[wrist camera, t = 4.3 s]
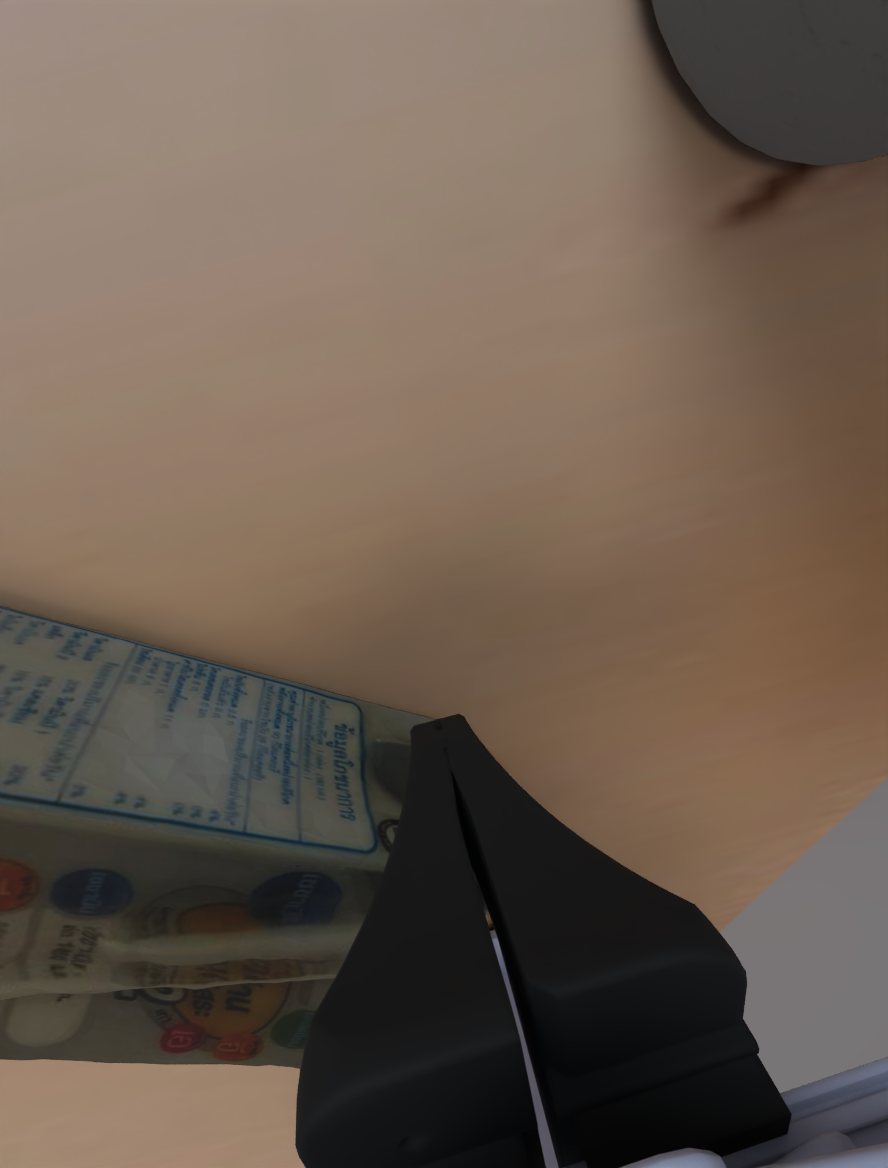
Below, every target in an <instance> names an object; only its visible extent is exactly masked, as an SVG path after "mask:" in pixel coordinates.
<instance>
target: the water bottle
mask: <svg viewBox="0 0 888 1168" xmlns="http://www.w3.org/2000/svg"><path fill="white" fill-rule="evenodd" d="M651 1H652V5H653V8H654V12H655V16H656V20H657V24H658V27H659V29H660V31H661V34H662V36H663V38H664V40H665V43H666V45H667V47H668V49H669V51H670V54H671V56H672V58H673V60H674V63H675V65H676V67H677V69H678V72H679V73H680V75H681V76H682V78H683V79H684V80H685V82H686V83H687V85H688V86H689V87H690V89H691V90H692V92H693V93H694V94H695V96H696V97H697V99H698V100H699V101H700V103H701V104H702V106H703V107H704V108H705V110H706V111H707V113H708V114H709V115H710V116H711V117H713V118H714V119H715V120H716V121H717V122H718V123H719V124H721V125H722V126H723V127H724V128H725V129H726V130H727V131H729V132H730V133H731V134H732V135H733V136H734V137H736V138H737V139H738V140H739V141H740V142H742V143H744V144H746V145H748V146H750V147H752V148H754V149H756V150H759V151H761V152H763V153H765V154H767V155H769V156H771V157H773V158H775V159H781V160H787V161H792V162H798V163H804V164H810V165H820V166H824V165H834V164H843V163H853V162H862V161H866V160H869V159H873V158H877V157H881V156H884V155H888V0H651Z"/></svg>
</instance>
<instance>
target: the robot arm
mask: <svg viewBox="0 0 888 1168" xmlns="http://www.w3.org/2000/svg"><path fill="white" fill-rule="evenodd" d="M410 736H411V753H410V763H409V772H408V778H407V784H406V790H405V796H404V801H403V806H402V810H401V814H400V818H399V822H398V826H397V830H396V834H395V837H394V841H393V844H392V848H391V851H390V854H389V857H388V860H387V863H386V866H385V869H384V872H383V875H382V877H381V880H380V883H379V885H378V888H377V890H376V893H375V895H374V898H373V900H372V903H371V905H370V908H369V910H368V912H367V915H366V917H365V919H364V922H363V924H362V926H361V928H360V930H359V932H358V934H357V936H356V938H355V940H354V942H353V944H352V946H351V948H350V950H349V952H348V955H347V957H346V959H345V961H344V963H343V964H342V966H341V968H340V970H339V972H338V974H337V975H336V977H335V979H334V981H333V982H332V984H331V986H330V988H329V989H328V991H327V993H326V995H325V996H324V998H323V1000H322V1002H321V1003H320V1005H319V1007H318V1009H317V1010H316V1012H315V1014H314V1015H313V1017H312V1019H311V1022H310V1026H309V1030H308V1034H307V1039H306V1043H305V1048H304V1053H303V1058H302V1063H301V1069H300V1077H299V1084H298V1093H297V1112H296V1144H295V1145H296V1148H297V1152H298V1155H299V1158H300V1159H301V1161H302V1162H303V1164H304V1166H305V1167H306V1168H888V1057H885V1058H883V1059H880V1060H877V1061H874V1062H871V1063H868V1064H865V1065H862V1066H859V1067H856V1068H853V1069H850V1070H847V1071H844V1072H841V1073H839V1074H836V1075H833V1076H830V1077H827V1078H824V1079H821V1080H818V1081H815V1082H812V1083H809V1084H807V1085H803V1086H801V1087H798V1088H795V1089H792V1090H789V1091H786V1092H783V1093H779V1091H778V1090H777V1088H776V1086H775V1085H774V1083H773V1081H772V1079H771V1078H770V1076H769V1074H768V1072H767V1071H766V1069H765V1067H764V1066H763V1064H762V1062H761V1060H760V1059H759V1057H758V1055H757V1054H758V1053H759V1047H758V1044H757V1042H756V1040H755V1038H754V1037H753V1035H752V1033H751V1032H750V1030H749V1028H748V1026H747V1025H746V1023H745V1021H744V1020H743V1013H744V1005H745V996H746V988H747V978H746V971H745V969H744V968H743V966H742V965H741V963H740V961H739V959H738V957H737V956H736V954H735V953H734V951H733V950H732V948H731V947H730V946H729V944H728V943H727V942H726V940H725V939H724V938H723V937H722V935H721V934H720V933H719V932H718V930H717V929H716V928H715V927H714V926H713V924H712V923H711V922H710V921H709V920H708V919H707V917H706V916H705V915H704V914H703V913H702V912H701V911H700V910H699V908H698V907H697V906H696V905H695V904H693V903H691V902H689V901H687V900H685V899H683V898H681V897H679V896H677V895H675V894H673V893H671V892H669V891H667V890H665V889H663V888H661V887H659V886H658V885H656V884H654V883H652V882H650V881H648V880H647V879H645V878H643V877H641V876H640V875H638V874H636V873H635V872H633V871H631V870H629V869H628V868H626V867H624V866H623V865H621V864H620V863H618V862H617V861H615V860H614V859H612V858H611V857H609V856H608V855H606V854H605V853H603V852H602V851H600V850H599V849H597V848H595V847H594V846H592V845H591V844H589V843H588V842H586V841H585V840H584V839H582V838H581V837H580V836H578V835H577V834H576V833H574V832H573V831H572V830H570V829H569V828H568V827H566V826H565V825H564V824H563V823H561V822H560V821H559V820H558V819H556V818H555V817H554V816H553V815H552V814H550V813H549V812H548V811H547V810H546V809H545V808H543V807H542V806H541V805H540V804H539V803H538V802H537V801H536V800H534V799H533V798H532V797H531V796H530V795H529V794H528V793H527V792H526V791H525V790H524V789H523V788H522V787H521V786H520V785H519V784H518V783H517V782H516V781H515V780H514V779H513V778H512V777H511V776H510V775H509V774H508V773H507V772H506V771H505V769H504V768H503V767H502V766H501V765H500V764H499V763H498V762H497V761H496V760H495V759H494V757H493V756H492V755H491V754H490V753H489V751H488V750H487V749H486V748H485V746H484V745H483V744H482V743H481V741H480V740H479V739H478V737H477V736H476V735H475V733H474V732H473V730H472V729H471V727H470V726H469V724H468V723H467V721H466V719H465V717H464V716H462V715H460V714H456V715H453V716H449V717H445V718H441V719H437V720H433V721H430V722H426V723H422V724H418V725H414V726H413V728H412V729H411V730H410ZM473 870H474V873H475V876H476V879H477V881H478V884H479V887H480V890H481V892H482V895H483V898H484V901H485V903H486V906H487V909H488V912H489V914H490V917H491V920H492V923H493V926H494V929H495V930H492V931H490V930H489V927H488V923H487V920H486V916H485V913H484V909H483V906H482V902H481V899H480V895H479V892H478V888H477V885H476V881H475V878H474V873H473Z"/></svg>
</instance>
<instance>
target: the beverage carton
mask: <svg viewBox="0 0 888 1168" xmlns="http://www.w3.org/2000/svg"><path fill="white" fill-rule="evenodd" d="M433 720H434V719H431V718H427V717H423V716H419V715H415V714H412V713H408V712H404V711H400V710H396V709H392V708H388V707H384V706H380V705H376V704H372V703H368V702H364V701H361V700H357V699H353V698H350V697H346V696H343V695H339V694H335V693H332V692H328V691H325V690H321V689H318V688H314V687H310V686H307V685H303V684H300V683H296V682H293V681H289V680H285V679H281V678H277V677H273V676H269V675H265V674H261V673H256V672H252V671H248V670H244V669H240V668H236V667H232V666H229V665H225V664H221V663H217V662H213V661H209V660H206V659H202V658H198V657H194V656H190V655H186V654H182V653H179V652H175V651H171V650H167V649H163V648H159V647H155V646H151V645H148V644H144V643H141V642H137V641H134V640H130V639H127V638H123V637H119V636H115V635H111V634H107V633H103V632H99V631H95V630H91V629H87V628H84V627H80V626H76V625H72V624H67V623H63V622H59V621H55V620H51V619H47V618H43V617H38V616H34V615H30V614H26V613H23V612H20V611H16V610H13V609H10V608H6V607H2V606H0V1059H7V1060H37V1059H50V1060H73V1061H92V1062H104V1063H148V1064H232V1065H248V1066H262V1065H275V1066H286V1067H294V1068H299V1069H301V1063H302V1058H303V1053H304V1048H305V1043H306V1039H307V1034H308V1030H309V1026H310V1022H311V1019H312V1017H313V1015H314V1014H315V1012H316V1010H317V1009H318V1007H319V1005H320V1003H321V1002H322V1000H323V998H324V996H325V995H326V993H327V991H328V989H329V988H330V986H331V984H332V982H333V981H334V979H335V977H336V975H337V974H338V972H339V970H340V968H341V966H342V964H343V963H344V961H345V959H346V957H347V955H348V952H349V950H350V948H351V946H352V944H353V942H354V940H355V938H356V936H357V934H358V932H359V930H360V928H361V926H362V924H363V922H364V919H365V917H366V915H367V912H368V910H369V908H370V905H371V903H372V900H373V898H374V895H375V893H376V890H377V888H378V885H379V883H380V880H381V877H382V875H383V872H384V869H385V866H386V863H387V860H388V857H389V854H390V851H391V848H392V844H393V841H394V837H395V834H396V830H397V826H398V822H399V818H400V814H401V810H402V806H403V801H404V796H405V790H406V784H407V778H408V772H409V763H410V753H411V736H410V730H411V729H412V728H413V726H414V725H418V724H422V723H426V722H430V721H433ZM473 873H474V870H473ZM474 878H475V881H476V885H477V888H478V892H479V895H480V899H481V902H482V906H483V909H484V913H485V916H486V914H487V912H488V909H487V906H486V903H485V901H484V898H483V895H482V892H481V890H480V887H479V884H478V881H477V879H476V876H475V873H474Z"/></svg>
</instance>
